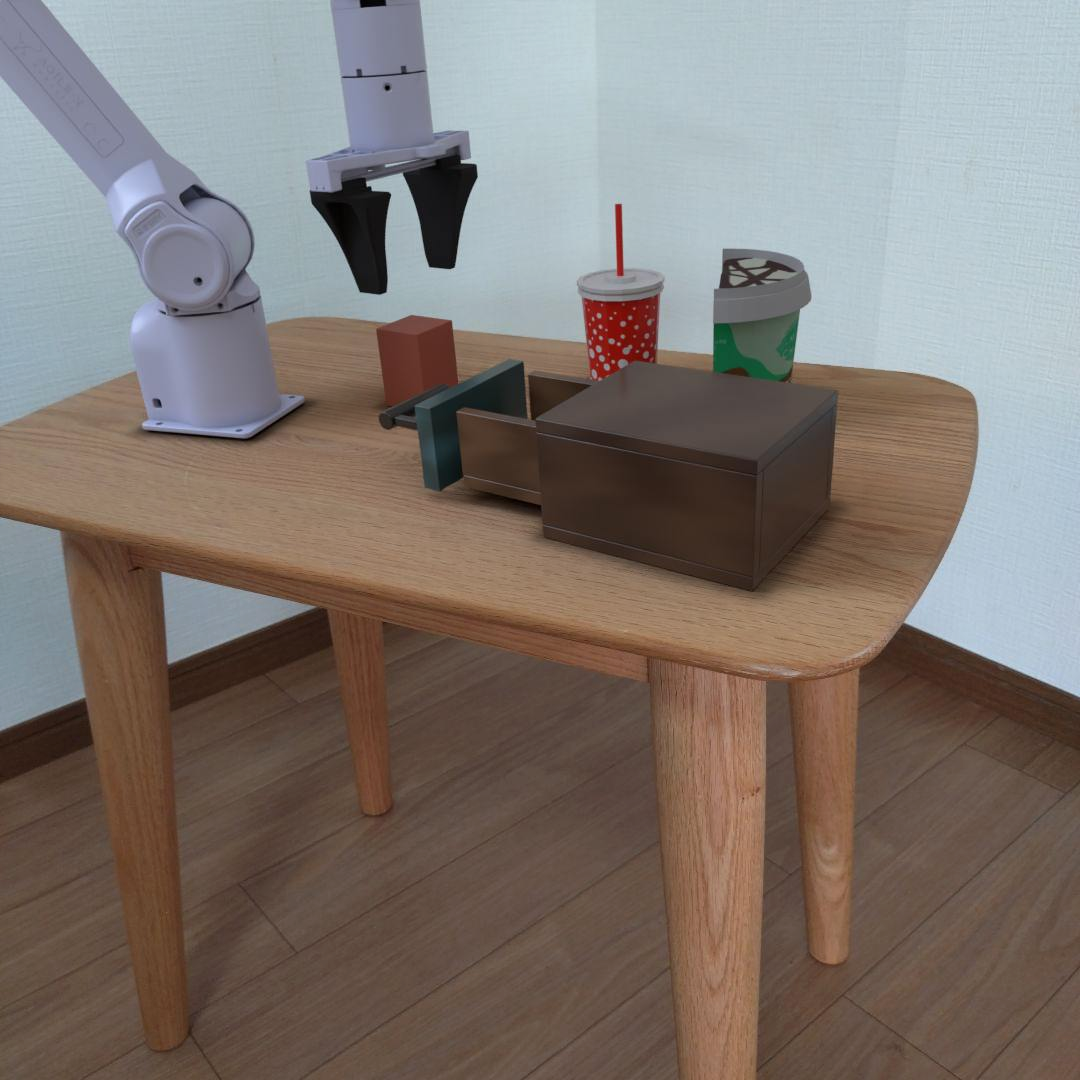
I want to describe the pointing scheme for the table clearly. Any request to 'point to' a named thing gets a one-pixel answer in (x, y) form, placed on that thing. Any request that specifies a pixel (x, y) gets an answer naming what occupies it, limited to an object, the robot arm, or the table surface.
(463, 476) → the drawer
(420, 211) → the robot arm
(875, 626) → the table surface
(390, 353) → the block
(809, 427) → the cabinet
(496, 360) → the table surface
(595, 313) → the beverage cup
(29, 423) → the table surface
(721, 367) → the food container
